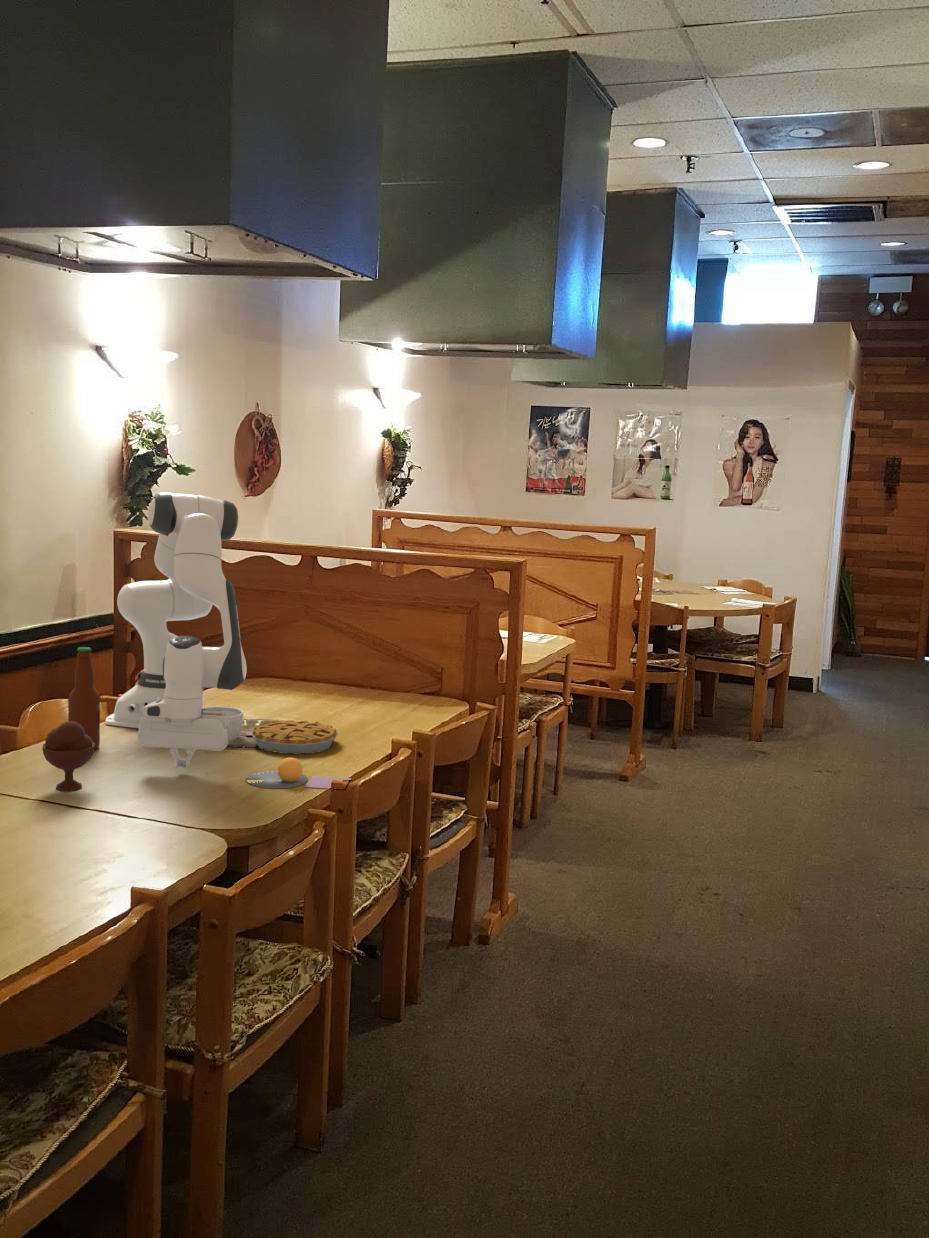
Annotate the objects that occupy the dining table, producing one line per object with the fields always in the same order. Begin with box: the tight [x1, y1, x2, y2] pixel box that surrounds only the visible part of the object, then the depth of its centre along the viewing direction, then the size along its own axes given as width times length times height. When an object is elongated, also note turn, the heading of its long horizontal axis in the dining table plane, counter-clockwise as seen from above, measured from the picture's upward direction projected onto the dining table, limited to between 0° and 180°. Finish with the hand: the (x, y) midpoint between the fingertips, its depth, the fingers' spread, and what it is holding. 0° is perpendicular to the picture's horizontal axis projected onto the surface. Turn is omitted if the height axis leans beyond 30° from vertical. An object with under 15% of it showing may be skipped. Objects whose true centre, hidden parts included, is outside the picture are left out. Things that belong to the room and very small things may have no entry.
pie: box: [250, 720, 338, 755], centre depth 285 cm, size 22×22×5 cm
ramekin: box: [203, 706, 244, 742], centre depth 288 cm, size 13×13×7 cm
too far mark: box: [304, 775, 352, 790], centre depth 253 cm, size 9×9×1 cm
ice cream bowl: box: [41, 721, 95, 792], centre depth 239 cm, size 11×11×15 cm
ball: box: [277, 757, 303, 782], centre depth 252 cm, size 6×6×6 cm
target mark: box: [245, 769, 309, 790], centre depth 254 cm, size 14×14×1 cm
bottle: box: [67, 646, 101, 750], centre depth 271 cm, size 7×7×25 cm
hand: (182, 766), depth 255 cm, fingers closed
